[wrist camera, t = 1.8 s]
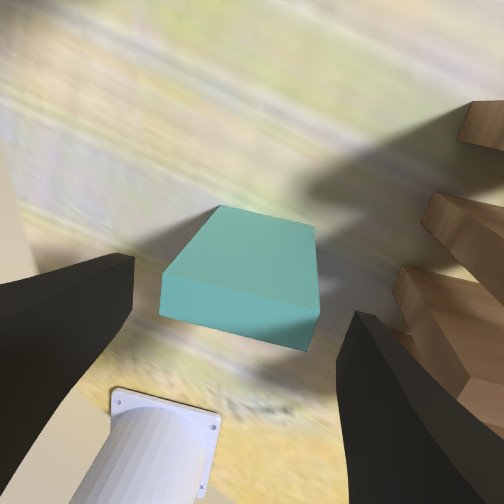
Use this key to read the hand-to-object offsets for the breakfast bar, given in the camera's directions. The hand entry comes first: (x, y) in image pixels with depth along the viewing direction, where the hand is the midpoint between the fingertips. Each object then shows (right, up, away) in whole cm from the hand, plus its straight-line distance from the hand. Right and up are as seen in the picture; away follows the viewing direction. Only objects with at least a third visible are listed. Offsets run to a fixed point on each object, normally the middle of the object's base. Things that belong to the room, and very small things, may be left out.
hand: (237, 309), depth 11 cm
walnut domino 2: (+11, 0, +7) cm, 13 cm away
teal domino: (+1, +3, +7) cm, 8 cm away
